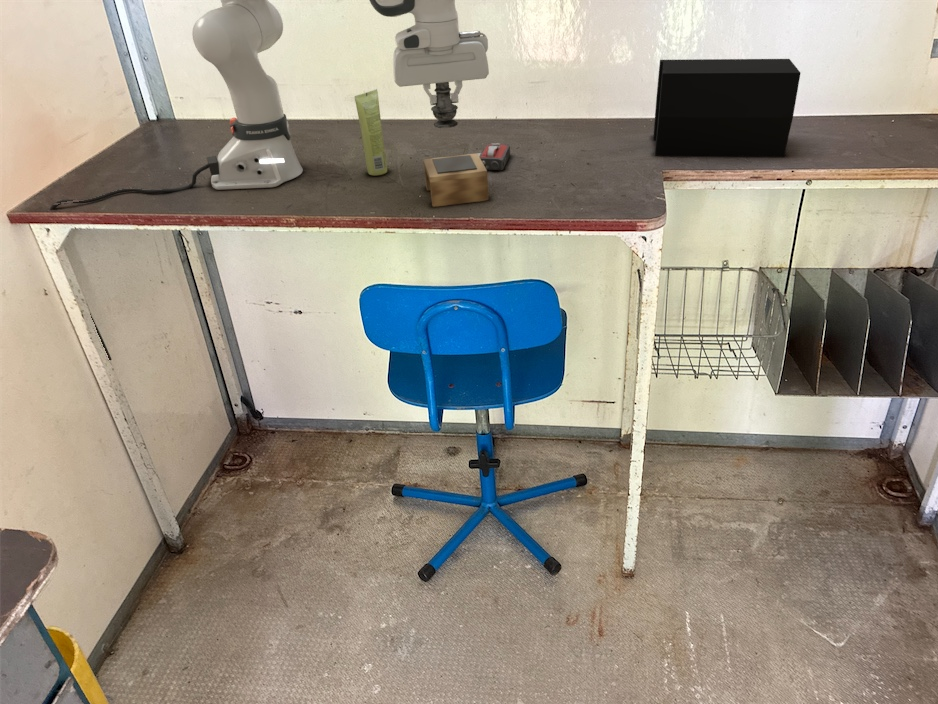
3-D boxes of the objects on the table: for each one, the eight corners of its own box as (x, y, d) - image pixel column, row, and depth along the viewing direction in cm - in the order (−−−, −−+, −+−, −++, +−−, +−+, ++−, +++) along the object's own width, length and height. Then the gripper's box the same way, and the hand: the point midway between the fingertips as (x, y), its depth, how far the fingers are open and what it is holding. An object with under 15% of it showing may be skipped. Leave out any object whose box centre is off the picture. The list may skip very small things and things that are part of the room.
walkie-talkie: (479, 153, 189) (462, 181, 173) (478, 136, 186) (461, 163, 171) (512, 154, 188) (497, 182, 172) (511, 137, 185) (497, 164, 169)
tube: (368, 169, 182) (356, 89, 171) (388, 167, 183) (377, 88, 171) (367, 177, 178) (354, 96, 166) (387, 175, 178) (376, 94, 166)
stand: (432, 207, 161) (429, 175, 157) (426, 187, 171) (422, 157, 166) (488, 200, 163) (486, 169, 159) (479, 181, 173) (477, 151, 168)
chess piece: (455, 128, 155) (450, 70, 147) (429, 128, 156) (423, 70, 148) (462, 120, 159) (457, 63, 152) (436, 120, 160) (431, 63, 153)
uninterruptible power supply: (653, 136, 195) (659, 58, 183) (779, 137, 191) (795, 57, 179) (655, 157, 182) (662, 74, 170) (791, 158, 178) (808, 74, 166)
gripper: (484, 27, 151) (487, 95, 159) (387, 35, 147) (396, 104, 156) (490, 32, 146) (493, 102, 154) (390, 41, 142) (399, 112, 151)
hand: (444, 103), depth 155 cm, fingers closed on chess piece, 3 cm apart
